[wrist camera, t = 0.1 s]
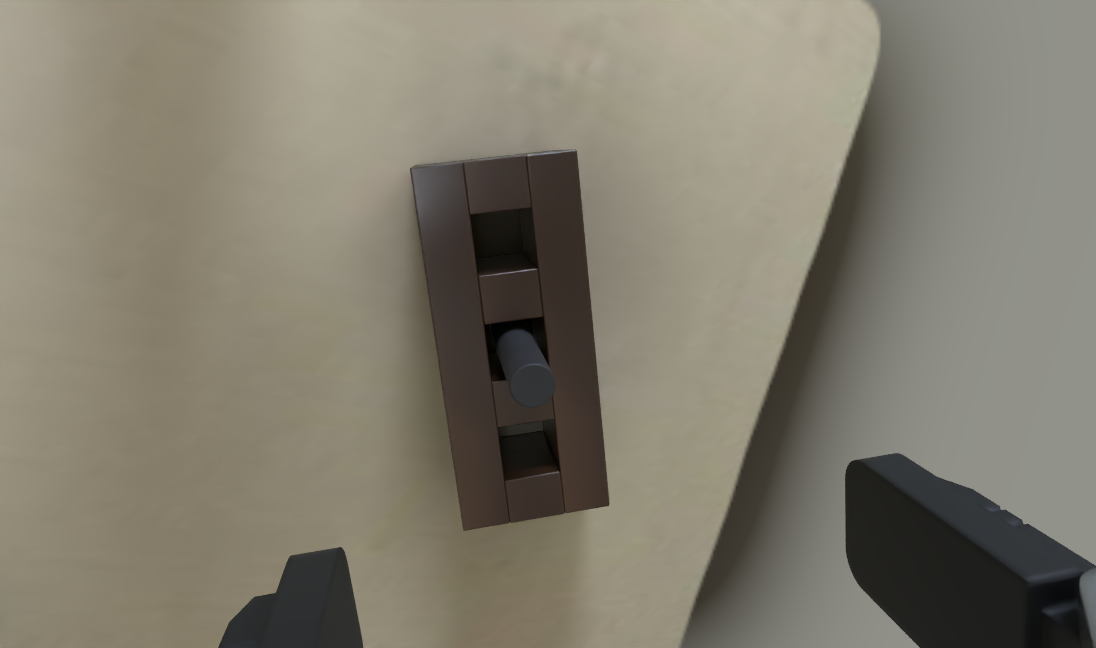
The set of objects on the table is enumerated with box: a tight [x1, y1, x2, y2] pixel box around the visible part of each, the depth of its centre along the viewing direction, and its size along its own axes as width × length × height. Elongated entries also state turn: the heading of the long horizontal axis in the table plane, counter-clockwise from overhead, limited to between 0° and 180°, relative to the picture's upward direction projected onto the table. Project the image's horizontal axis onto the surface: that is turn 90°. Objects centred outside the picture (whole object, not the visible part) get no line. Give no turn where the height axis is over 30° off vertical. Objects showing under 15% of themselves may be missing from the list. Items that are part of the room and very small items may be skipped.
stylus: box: [490, 319, 556, 408], centre depth 37 cm, size 2×2×12 cm
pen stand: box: [410, 150, 609, 531], centre depth 40 cm, size 8×19×6 cm, turn 6°
